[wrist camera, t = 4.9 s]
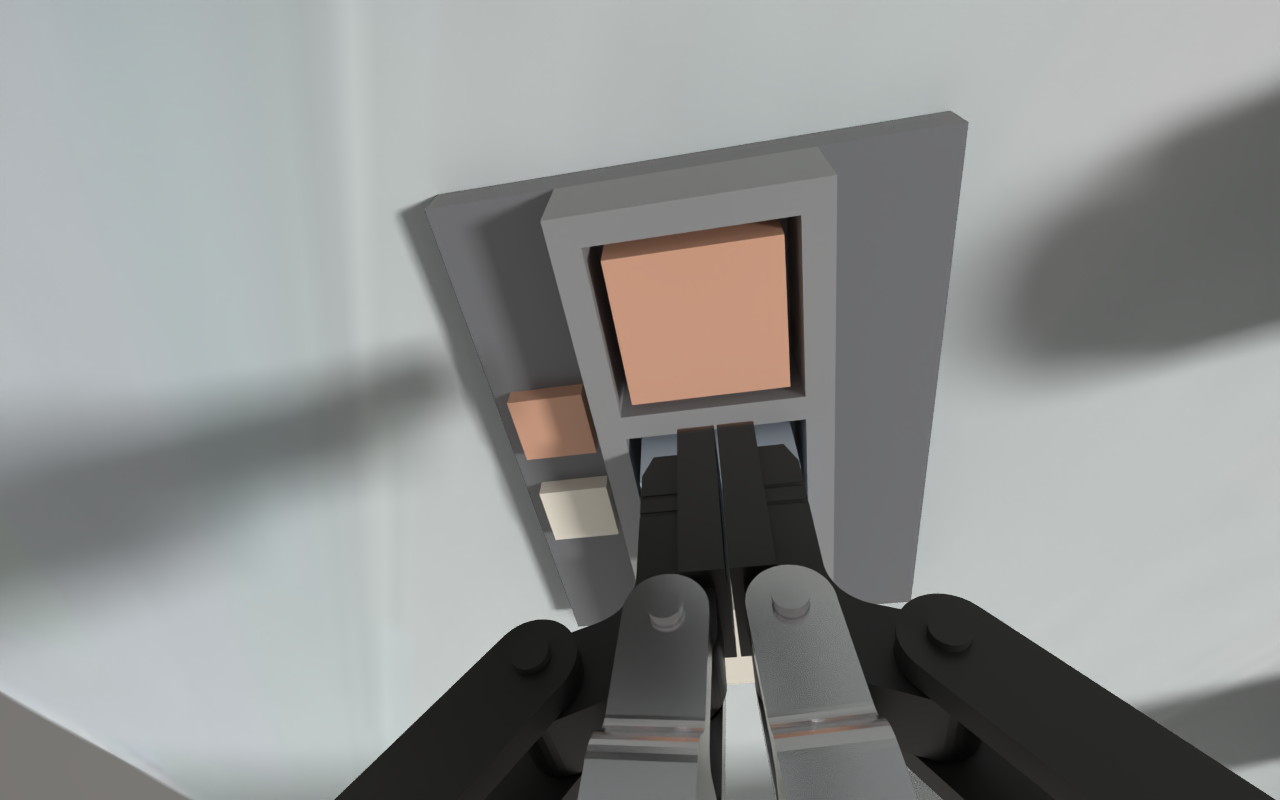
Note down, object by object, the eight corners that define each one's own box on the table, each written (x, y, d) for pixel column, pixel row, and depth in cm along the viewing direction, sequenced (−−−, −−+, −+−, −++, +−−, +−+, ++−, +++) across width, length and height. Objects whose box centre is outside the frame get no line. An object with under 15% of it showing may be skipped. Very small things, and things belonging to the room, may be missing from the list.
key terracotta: (773, 204, 17) (784, 234, 15) (780, 348, 19) (790, 386, 18) (606, 229, 17) (600, 260, 16) (634, 366, 20) (632, 405, 18)
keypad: (950, 110, 17) (1008, 148, 14) (902, 577, 28) (929, 651, 25) (437, 194, 18) (396, 243, 16) (581, 603, 29) (572, 675, 26)
